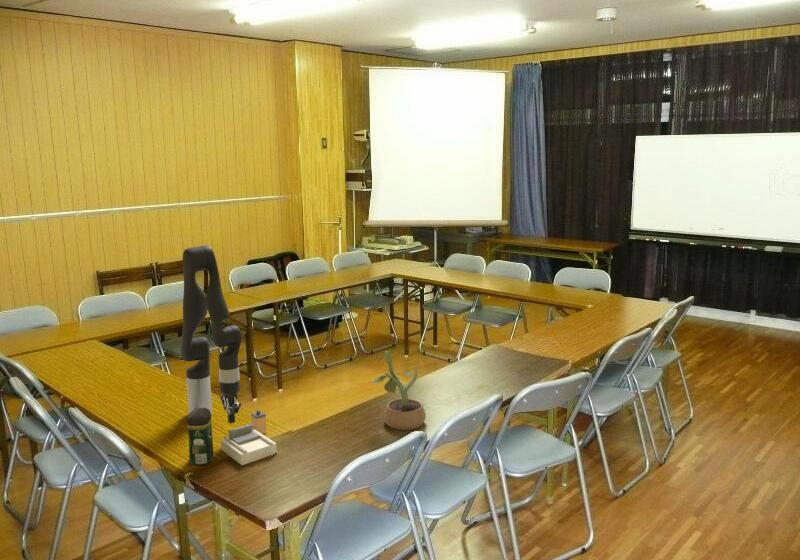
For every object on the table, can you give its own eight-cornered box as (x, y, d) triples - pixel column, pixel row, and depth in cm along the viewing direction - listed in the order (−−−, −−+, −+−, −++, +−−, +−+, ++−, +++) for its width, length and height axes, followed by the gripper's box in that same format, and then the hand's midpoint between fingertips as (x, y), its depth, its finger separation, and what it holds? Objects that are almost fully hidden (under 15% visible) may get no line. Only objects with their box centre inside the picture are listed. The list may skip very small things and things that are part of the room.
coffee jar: (193, 454, 248) (190, 406, 244) (215, 453, 249) (212, 405, 245) (187, 466, 239) (183, 416, 235) (210, 465, 239) (207, 416, 236)
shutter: (229, 438, 251) (228, 430, 250) (251, 431, 257) (250, 423, 256) (237, 444, 246) (236, 436, 246) (259, 437, 252) (259, 429, 251)
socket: (221, 449, 252) (220, 437, 251) (255, 439, 261) (254, 427, 260) (241, 465, 240) (241, 452, 239) (276, 453, 249) (276, 441, 248)
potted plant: (426, 414, 285) (427, 345, 279) (424, 432, 267) (425, 359, 261) (372, 412, 286) (372, 344, 280) (367, 430, 269) (367, 357, 263)
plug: (252, 432, 266) (251, 410, 264) (261, 429, 269) (260, 408, 267) (257, 436, 263) (256, 413, 262) (266, 433, 266) (265, 411, 264)
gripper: (212, 376, 257) (214, 419, 260) (228, 385, 247) (230, 430, 250) (230, 372, 262) (232, 414, 265) (246, 381, 252) (249, 425, 255)
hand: (231, 422), depth 258 cm, fingers closed
